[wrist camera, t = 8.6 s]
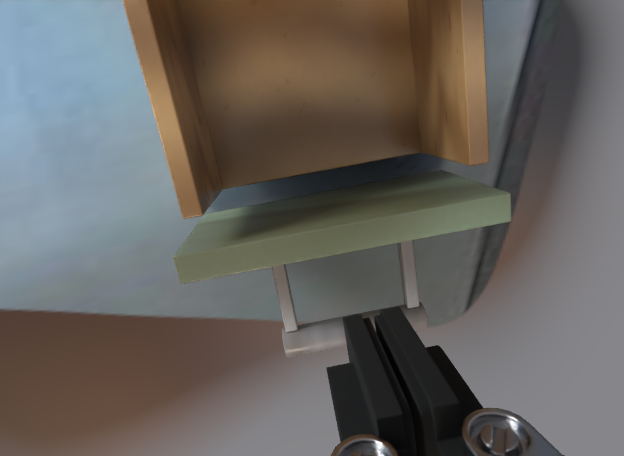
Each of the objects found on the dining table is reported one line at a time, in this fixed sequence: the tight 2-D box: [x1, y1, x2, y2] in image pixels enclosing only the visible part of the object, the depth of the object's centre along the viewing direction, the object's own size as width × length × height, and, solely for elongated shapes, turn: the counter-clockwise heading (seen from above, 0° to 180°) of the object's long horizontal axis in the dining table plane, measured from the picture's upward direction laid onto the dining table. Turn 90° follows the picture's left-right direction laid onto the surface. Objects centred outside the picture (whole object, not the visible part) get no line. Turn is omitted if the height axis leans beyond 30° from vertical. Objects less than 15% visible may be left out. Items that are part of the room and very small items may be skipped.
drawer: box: [122, 0, 511, 357], centre depth 17 cm, size 21×13×7 cm, turn 10°
